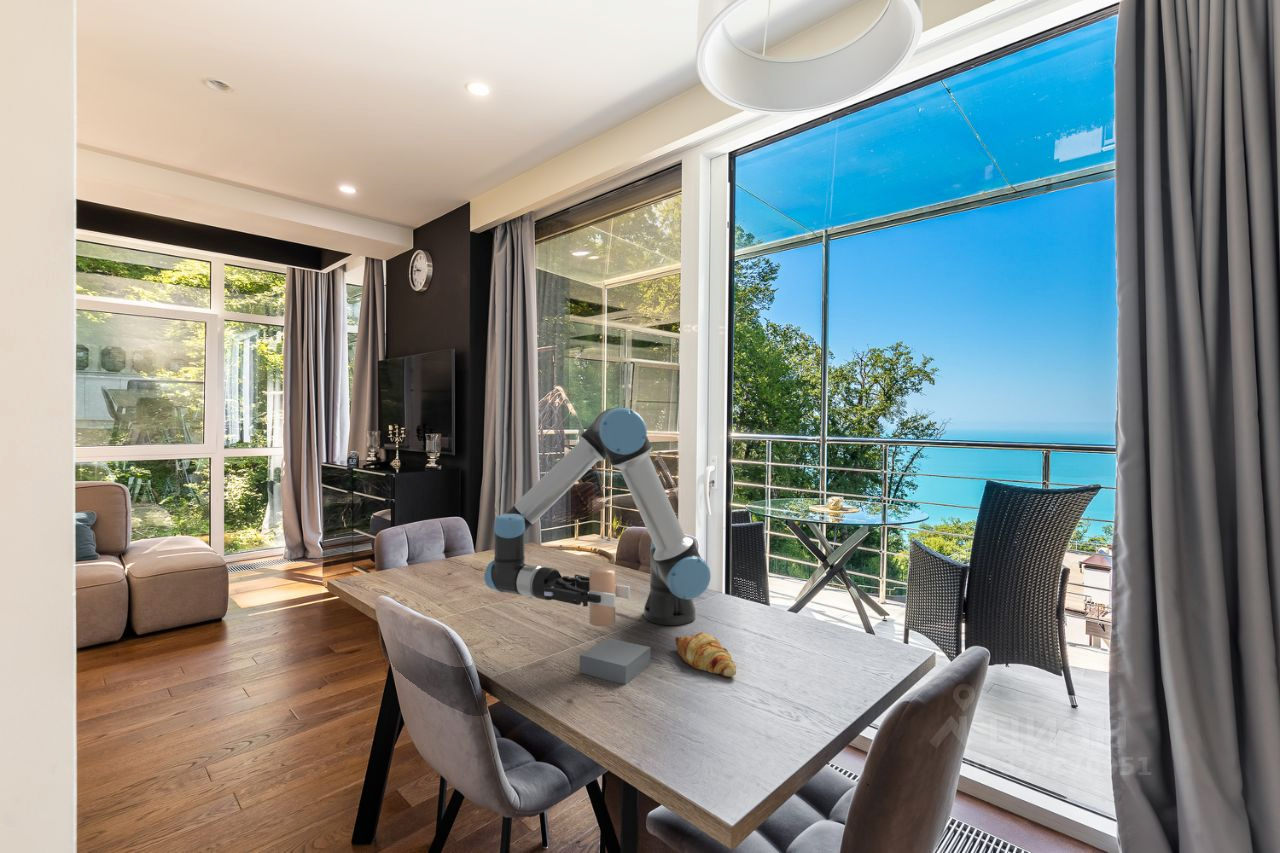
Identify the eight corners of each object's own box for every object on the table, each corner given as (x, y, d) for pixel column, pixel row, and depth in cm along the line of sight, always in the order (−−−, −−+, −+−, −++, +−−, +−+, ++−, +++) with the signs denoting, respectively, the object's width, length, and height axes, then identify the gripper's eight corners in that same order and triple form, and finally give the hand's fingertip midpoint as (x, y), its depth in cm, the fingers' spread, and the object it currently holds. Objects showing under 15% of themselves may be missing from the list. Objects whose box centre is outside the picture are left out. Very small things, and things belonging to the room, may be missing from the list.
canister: (598, 615, 137) (598, 565, 137) (620, 620, 134) (620, 568, 134) (584, 623, 132) (584, 571, 132) (606, 628, 129) (606, 574, 129)
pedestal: (607, 653, 142) (607, 637, 142) (650, 664, 137) (650, 647, 136) (579, 672, 132) (579, 655, 132) (625, 684, 126) (625, 666, 126)
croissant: (743, 692, 130) (756, 657, 132) (715, 681, 125) (728, 645, 127) (684, 657, 148) (696, 627, 150) (656, 647, 143) (669, 616, 145)
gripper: (562, 587, 150) (641, 601, 139) (514, 608, 133) (599, 626, 122) (563, 558, 150) (641, 570, 139) (514, 576, 133) (599, 591, 122)
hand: (622, 596), depth 131 cm, fingers closed on canister, 6 cm apart
